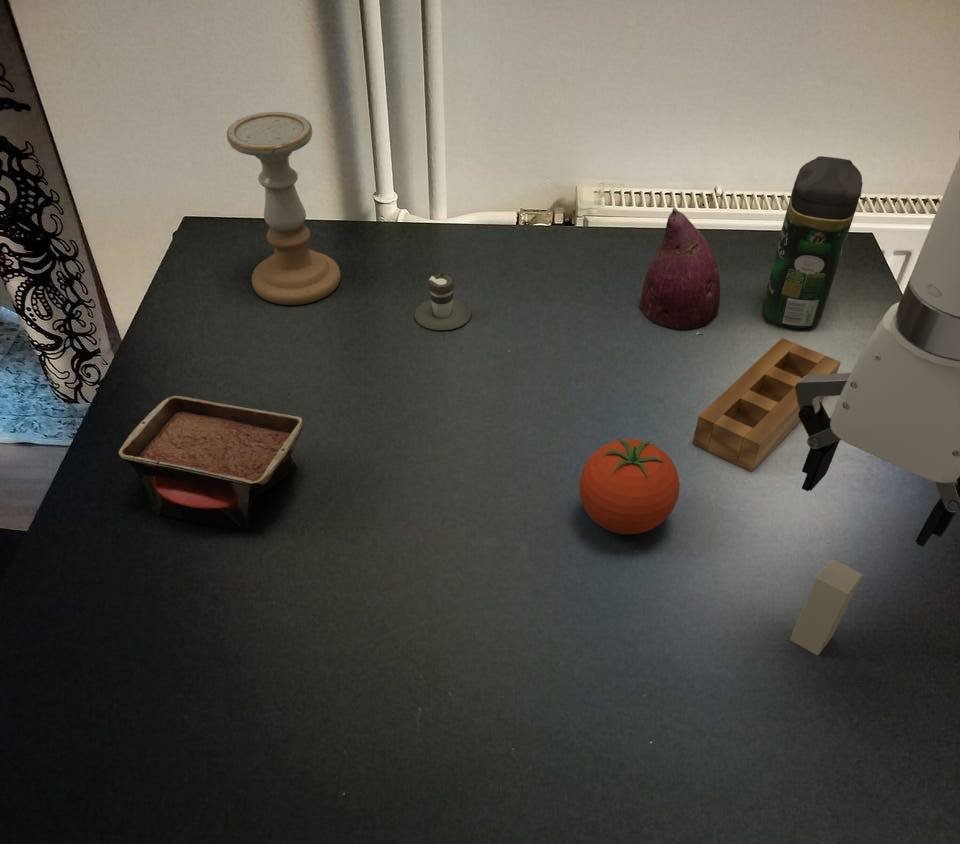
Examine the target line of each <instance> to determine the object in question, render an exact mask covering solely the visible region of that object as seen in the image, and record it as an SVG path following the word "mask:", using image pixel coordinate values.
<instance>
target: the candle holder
mask: <svg viewBox="0 0 960 844" xmlns="http://www.w3.org/2000/svg"><path fill="white" fill-rule="evenodd" d="M312 137H313V127H312V124H311V122H310V121H309V120H308V119H306V118H305V117H304V116H301V115H299V114H296V113H292V112H288V111H287V112H286V111H267V112H265V111H264V112H258V113H254V114H250V115H247V116H244V117H242V118H240V119H238V120H236V121H234V122H233V123H232V124H230V126H229V127H228V129H227V131H226V139H227V143H228V144H229V146H230V147H231V148H232V149H233V150H234V151H236V152H238V153H241V154H243V155H248V156H254V157H255V158H256V159H258V160H259V162H260V163H261V171H260V172H259V174H258V177H257V181H258V183H259V184H260V185H261V186H262V187H264V210H263V219H264V221H265V224H266V225H267V226H268V227H269V229H268V230H267V232H266V240H267V242H268V243H269V244H270V245H271V246H272V247H273V251H274V253H273V254H271V255H270V256H268V257H267V258H265V259H264V260H262V261H261V262H260V263H259V264H257V266H256V267H255V268H254V270H253V272H252V275H251V284H252V288H253V290H254V292H255V293H256V294H257V295H258V296H259V298H261V299H263V300H265V301H267V302H269V303H272V304H276V305H282V306H299V305H307V304H311V303H314V302H317V301H320V300H322V299H324V298H326V297H328V296H329V295H331V294H332V293H333V292H335V290H337V288H338V286H339V285H340V283H341V276H342V275H341V270H340V267H339V265H338V264H337V262H336V261H335V260H334V259H333V258H332V257H330V256H328V255H326V254H324V253H321V252H319V251H315V250H313V249H309V247H308V242H309V240H310V239H311V235H312V233H311V230H310V228H309V227H308V226H307V225H306V224H304V223H305V221H306V219H307V212H306V209H305V207H304V205H303V203H302V201H301V199H300V196H299V194H298V192H297V189H296V185H295V184H296V183H297V181H298V180H299V179H298V178H299V175H298V172H296V170H295V169H293V168H292V167H291V165H290V156H291V155H292V154H293V153H294V152H295V151H298V150H300V149H302V148H303V147H305V146H306V145H308V144H309V143H310V141H311V140H312Z"/></svg>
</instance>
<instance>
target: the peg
mask: <svg viewBox="0 0 960 844" xmlns="http://www.w3.org/2000/svg"><path fill="white" fill-rule="evenodd" d="M863 576H864V574H863V573H861V572H859V571H857V570H855V569H853V568H851V567H849V566H847V565H845V564H843V563H841V562H840V561H837V560H835V559H833V558H831V559H830V560H829V562H828V563H827V564H826V565H825V567H823V569H822V570H821V572H819V574H818V575H817V577H816V579H815V580H814V583H813V585H812V586H811V589H810V591H809V594H808V596H807V599H806V601H805V602H804V605H803V608H802V610H801V612H800V615H799V616H798V619H797V622H796V624H795V626H794V628H793V631H792V633H791V635H790V638H789V641H790V642H791V643H794V644H796V645H798V646H799V647H801V648H803V649H805V650H807V651H808V652H810V653H812V654H814V655H815V656H816V657H818V656H819V655H820V654H821V653H822V651H823V650H824V649H825V647H826V646H827V645H828V643H829V642H830V641H831V639H832V638H833V636H834V634H835V632H836V631H837V628H838V626H839V624H840V622H841V620H842V618H843V616H844V614H845V612H846V611H847V608H848V606H849V604H850V603H851V600H852V598H853V596H854V594H855V593H856V590H857V588H858V586H859V584H860V582H861V579H862V578H863Z"/></svg>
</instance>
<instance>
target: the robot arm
mask: <svg viewBox="0 0 960 844" xmlns="http://www.w3.org/2000/svg"><path fill="white" fill-rule="evenodd" d="M958 132H959V138H958V139H959V140H958V141H959V142H960V130H959V131H958ZM930 224H931V225H930V226H929V230H928V232H927V235H926V237H925V239H924V242H923V244H922V247H921V249H920V251H919V254H918V256H917V258H916V262H915V264H914V266H913V269H912V271H911V274H910V276H909V279H908V281H907V284H906V286H905V288H904V291H903V293H902V296H901V298H900V301H899V302H896V303H894V304H892V305H891V306H890V307H889V308H888V310H887V311H886V313H885V314H884V316H883V317H882V318H881V319H880V321H879V322H878V324H877V326H876V327H875V329H874V330H873V331H872V334H871V335H870V337H869V339H868V340H867V342H866V344H865V346H864V347H863V349H862V351H861V353H860V354H859V357H858V358H857V360H856V363H855V364H854V366H853V368H852V370H851V372H844V373H843V372H842V373H837V374H819V375H806V376H804V377H803V378H802V379H801V380H800V381H799V382H798V383H797V384H796V386H795V390H796V396H797V401H798V406H799V407H800V411H799V418H800V420H801V421H800V422H801V425H802V426H803V428H804V430H805V432H806V434H807V436H808V438H807V440H806V443H807V445H808V447H809V450H808V453H807V456H806V458H805V461H804V463H803V467H802V469H801V472H802V473H804V474H806V475H805V476H806V477H805V478H804V481H803V484H802V486H801V489H802V490H804V491H806V492H809V491H810V492H812V491H813V490H814V489H815V487H816V486H817V485H818V484H819V483H820V482H821V480H822V479H823V478H824V477H825V476H826V475H827V473H828V472H829V468H830V466H831V463H832V461H833V458H834V456H835V453H836V451H837V449H838V446H839V444H840V441H843V443H846V444H847V445H850V446H852V447H854V448H856V449H858V450H861V451H863V452H865V453H867V454H870V455H872V456H874V457H876V458H878V459H880V460H882V461H884V462H887V463H890V464H892V465H894V466H895V467H898V468H900V469H903V470H905V471H908V472H910V473H911V474H914V475H916V476H919V477H921V478H924V479H926V480H928V481H931V482H933V483H934V482H935V484H936V487H937V490H938V493H939V495H940V498H939V500H938V501H937V502H936V504H934V506H933V508H932V510H931V511H930V513H929V515H928V516H927V519H926V520H925V522H924V524H923V526H922V528H921V529H920V530H919V531H920V532H919V533H918V535H917V537H916V539H915V543H916V545H918V546H920V547H922V548H924V547H925V545H926V544H927V543H928V541H929V540H930V539H931V537H932V536H933V535H934V536H937V537H939V538H942V537H943V535H944V534H945V532H946V531H947V529H948V528H949V526H950V525H951V523H952V521H953V520H954V518H955V516H956V514H957V513H959V512H960V155H959V156H958V158H957V160H956V162H955V165H954V169H953V170H952V173H951V175H950V178H949V181H948V183H947V186H946V187H945V190H944V193H943V195H942V197H941V200H940V202H939V205H938V207H937V209H936V212H935V214H934V217H933V220H932V222H931V223H930ZM820 396H824V397H835V396H839V397H838V399H837V400H836V403H835V406H834V408H833V411H832V414H831V417H830V416H829V415H828V412H827V411H826V409H825V407H824V404H823V403H822V401H821V400H820V401H819V399H820Z"/></svg>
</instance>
